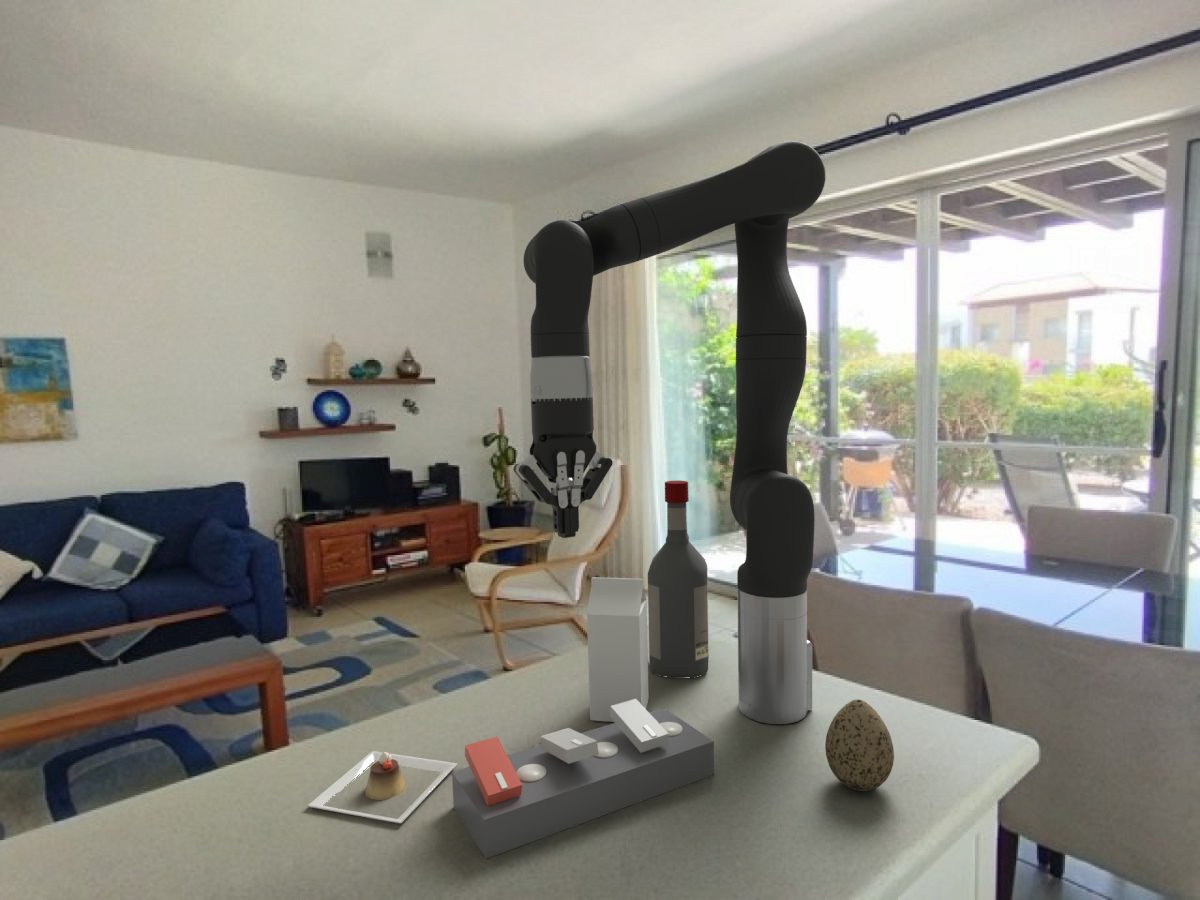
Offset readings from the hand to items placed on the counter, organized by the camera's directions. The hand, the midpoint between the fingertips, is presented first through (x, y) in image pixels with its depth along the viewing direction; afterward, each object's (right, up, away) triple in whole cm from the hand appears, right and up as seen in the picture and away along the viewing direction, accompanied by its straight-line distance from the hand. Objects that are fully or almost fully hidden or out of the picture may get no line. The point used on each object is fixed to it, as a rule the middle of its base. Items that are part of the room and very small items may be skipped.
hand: (566, 536), depth 87 cm
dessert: (-20, -29, -6) cm, 36 cm away
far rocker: (+9, -22, -4) cm, 24 cm away
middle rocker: (+1, -23, -9) cm, 24 cm away
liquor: (+17, -25, +26) cm, 40 cm away
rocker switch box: (+3, -28, -7) cm, 29 cm away
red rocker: (-7, -23, -13) cm, 28 cm away
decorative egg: (+33, -27, -8) cm, 44 cm away
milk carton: (+7, -26, +12) cm, 29 cm away
